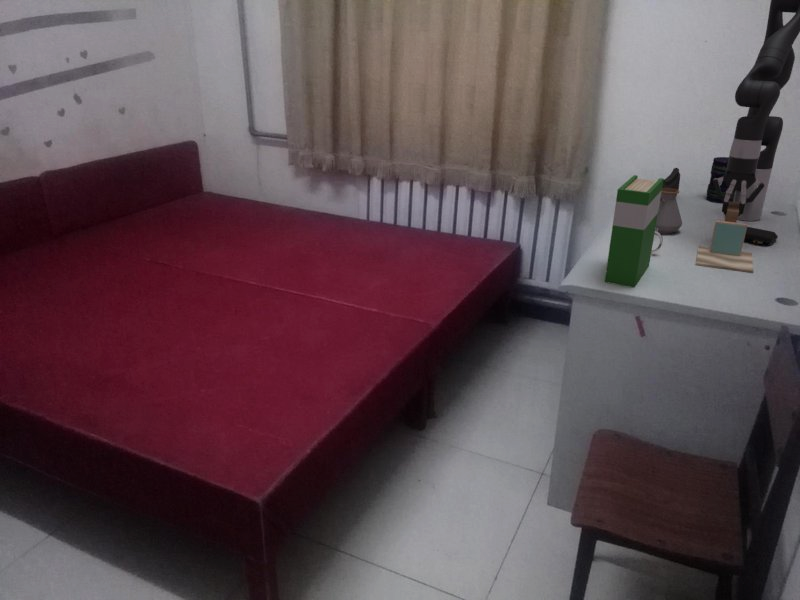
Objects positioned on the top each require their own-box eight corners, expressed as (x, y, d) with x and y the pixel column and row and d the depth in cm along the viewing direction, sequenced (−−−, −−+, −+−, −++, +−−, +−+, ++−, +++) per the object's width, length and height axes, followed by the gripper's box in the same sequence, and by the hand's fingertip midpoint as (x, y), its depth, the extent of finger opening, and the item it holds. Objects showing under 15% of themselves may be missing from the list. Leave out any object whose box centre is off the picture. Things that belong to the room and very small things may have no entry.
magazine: (674, 169, 247) (659, 158, 221) (683, 170, 246) (670, 159, 219) (663, 215, 250) (648, 209, 224) (672, 216, 248) (658, 211, 222)
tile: (709, 250, 187) (715, 220, 184) (740, 254, 184) (747, 223, 180) (709, 252, 186) (715, 221, 182) (740, 256, 183) (747, 225, 179)
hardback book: (621, 261, 180) (634, 175, 171) (648, 266, 177) (663, 178, 167) (604, 281, 166) (617, 189, 157) (634, 287, 163) (649, 193, 153)
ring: (660, 254, 186) (665, 227, 183) (659, 257, 183) (663, 230, 180) (635, 250, 189) (639, 223, 186) (633, 253, 187) (637, 226, 183)
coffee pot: (648, 222, 214) (656, 177, 208) (685, 229, 208) (693, 182, 202) (626, 238, 199) (634, 190, 193) (665, 246, 192) (674, 196, 186)
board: (698, 247, 191) (698, 245, 191) (751, 254, 186) (751, 252, 186) (695, 265, 178) (696, 262, 178) (753, 273, 173) (753, 270, 172)
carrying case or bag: (715, 239, 200) (768, 249, 191) (717, 229, 199) (770, 239, 190) (726, 231, 208) (777, 241, 199) (728, 221, 206) (780, 231, 197)
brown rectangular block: (719, 215, 195) (722, 200, 192) (741, 218, 193) (745, 203, 190) (717, 232, 188) (720, 216, 185) (740, 234, 185) (744, 219, 183)
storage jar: (700, 200, 241) (708, 159, 235) (712, 195, 247) (720, 155, 241) (727, 205, 235) (736, 163, 229) (739, 200, 241) (748, 160, 235)
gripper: (771, 155, 184) (757, 214, 191) (717, 151, 190) (705, 209, 196) (773, 159, 178) (758, 221, 185) (716, 155, 183) (705, 215, 190)
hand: (731, 214), depth 191 cm, fingers closed on brown rectangular block, 3 cm apart
